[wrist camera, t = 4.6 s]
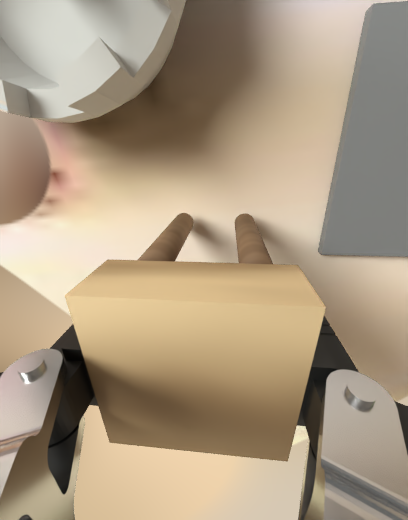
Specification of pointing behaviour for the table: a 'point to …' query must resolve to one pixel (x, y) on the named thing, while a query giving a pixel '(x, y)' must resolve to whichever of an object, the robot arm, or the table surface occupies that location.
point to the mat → (373, 145)
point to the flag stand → (81, 54)
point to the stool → (199, 346)
